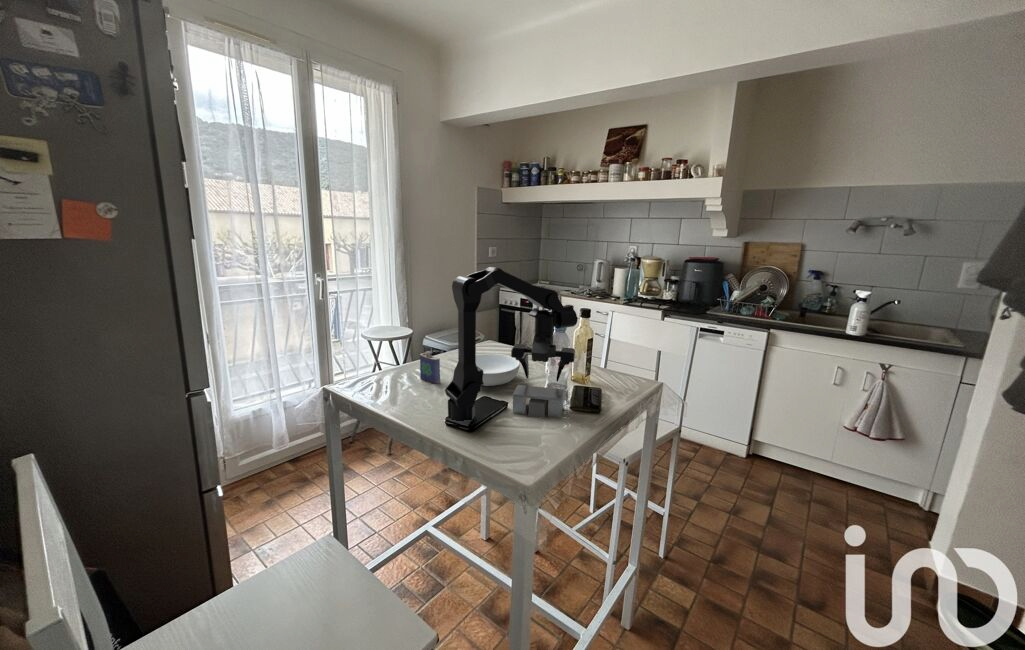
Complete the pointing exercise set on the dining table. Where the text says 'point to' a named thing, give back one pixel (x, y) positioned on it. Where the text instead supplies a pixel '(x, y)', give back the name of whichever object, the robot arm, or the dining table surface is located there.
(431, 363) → the flask
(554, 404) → the grey arch block
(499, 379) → the serving bowl
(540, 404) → the plug
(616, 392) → the dining table surface
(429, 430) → the dining table surface
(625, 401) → the dining table surface
